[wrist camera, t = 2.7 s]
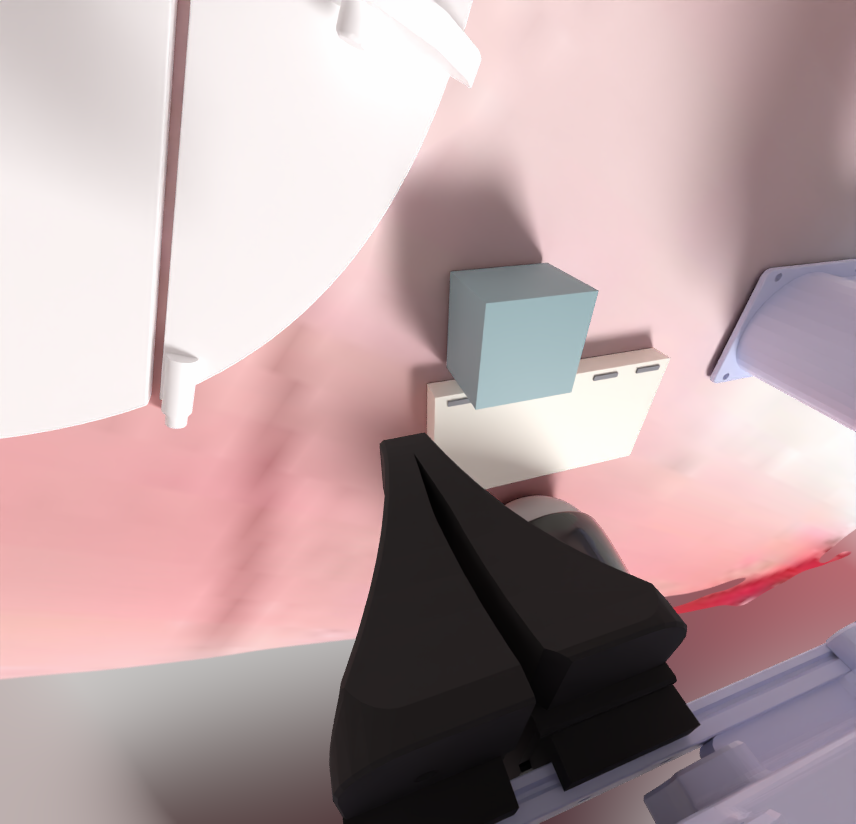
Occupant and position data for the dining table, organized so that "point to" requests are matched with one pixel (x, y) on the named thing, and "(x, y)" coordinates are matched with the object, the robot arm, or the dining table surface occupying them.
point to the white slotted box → (548, 421)
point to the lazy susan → (193, 181)
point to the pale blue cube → (516, 332)
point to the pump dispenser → (568, 527)
